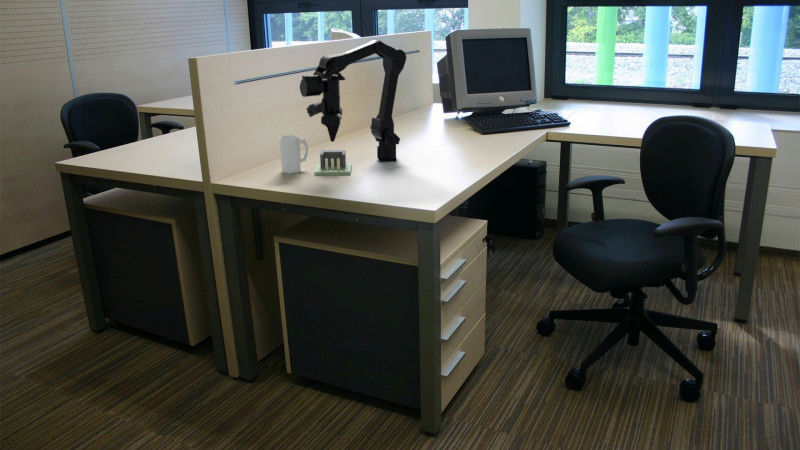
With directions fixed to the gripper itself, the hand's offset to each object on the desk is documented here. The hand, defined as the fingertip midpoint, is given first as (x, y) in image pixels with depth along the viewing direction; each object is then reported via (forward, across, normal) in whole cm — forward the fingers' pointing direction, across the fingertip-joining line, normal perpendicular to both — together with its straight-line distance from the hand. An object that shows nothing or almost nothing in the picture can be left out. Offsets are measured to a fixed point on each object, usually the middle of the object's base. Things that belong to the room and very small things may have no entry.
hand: (332, 139), depth 228 cm
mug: (+10, +3, -13) cm, 17 cm away
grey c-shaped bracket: (+9, +2, 0) cm, 9 cm away
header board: (+10, +3, 0) cm, 10 cm away
